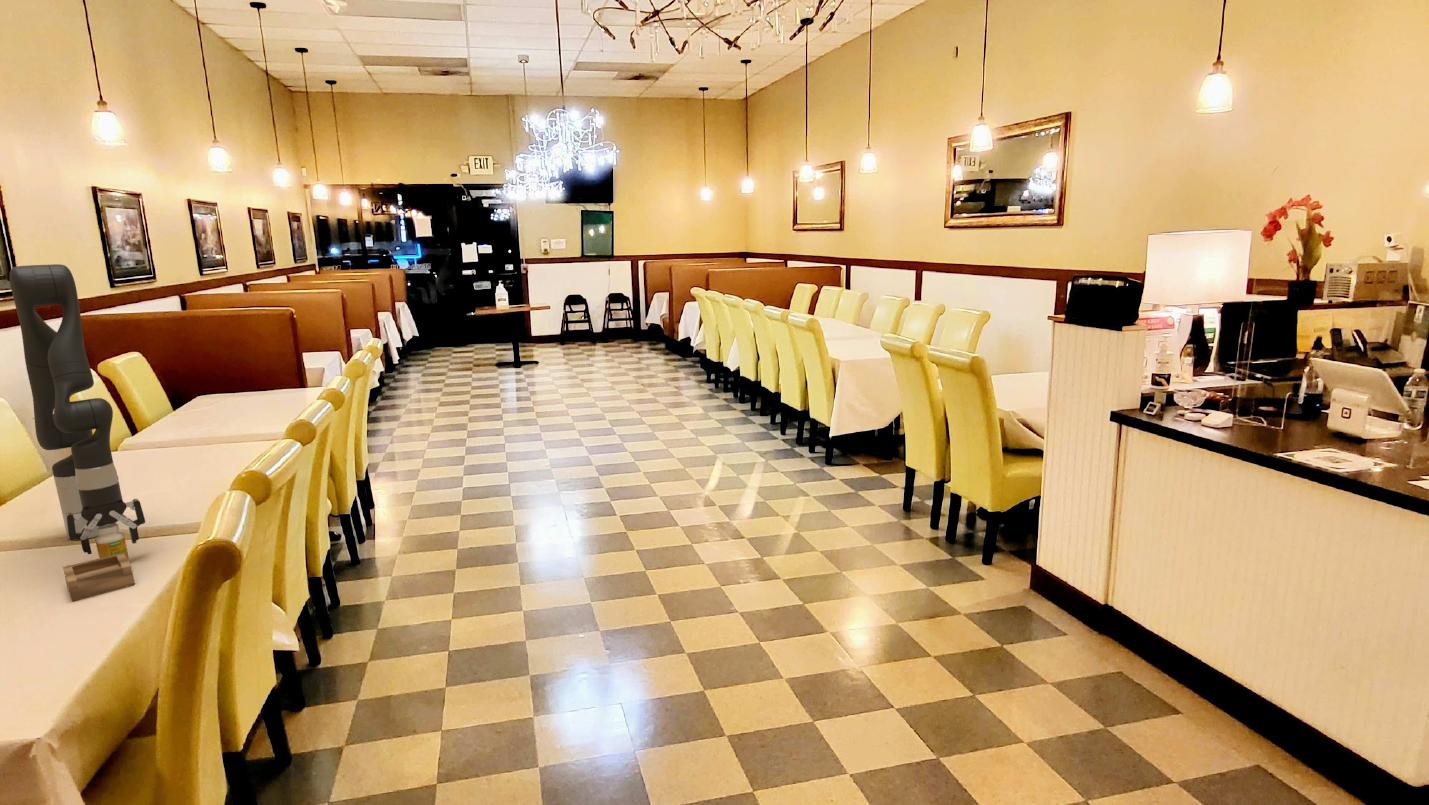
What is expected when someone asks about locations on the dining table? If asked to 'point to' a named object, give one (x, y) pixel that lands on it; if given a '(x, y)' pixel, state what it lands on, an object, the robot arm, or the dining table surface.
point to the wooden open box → (98, 576)
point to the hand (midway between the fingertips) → (112, 547)
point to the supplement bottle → (110, 541)
